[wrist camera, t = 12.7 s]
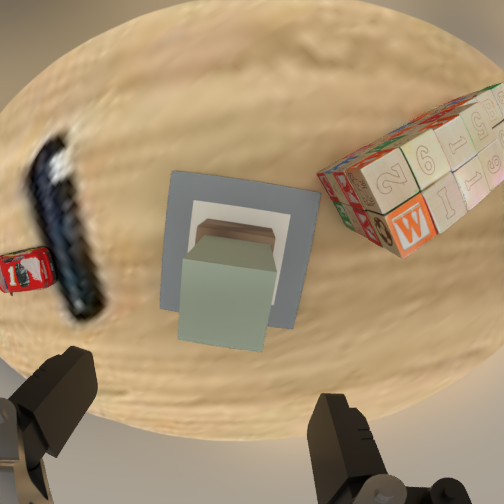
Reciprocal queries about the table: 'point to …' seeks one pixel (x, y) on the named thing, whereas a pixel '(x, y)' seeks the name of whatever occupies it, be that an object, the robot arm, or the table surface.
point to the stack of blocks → (422, 173)
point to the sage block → (226, 293)
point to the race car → (26, 270)
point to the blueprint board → (241, 197)
